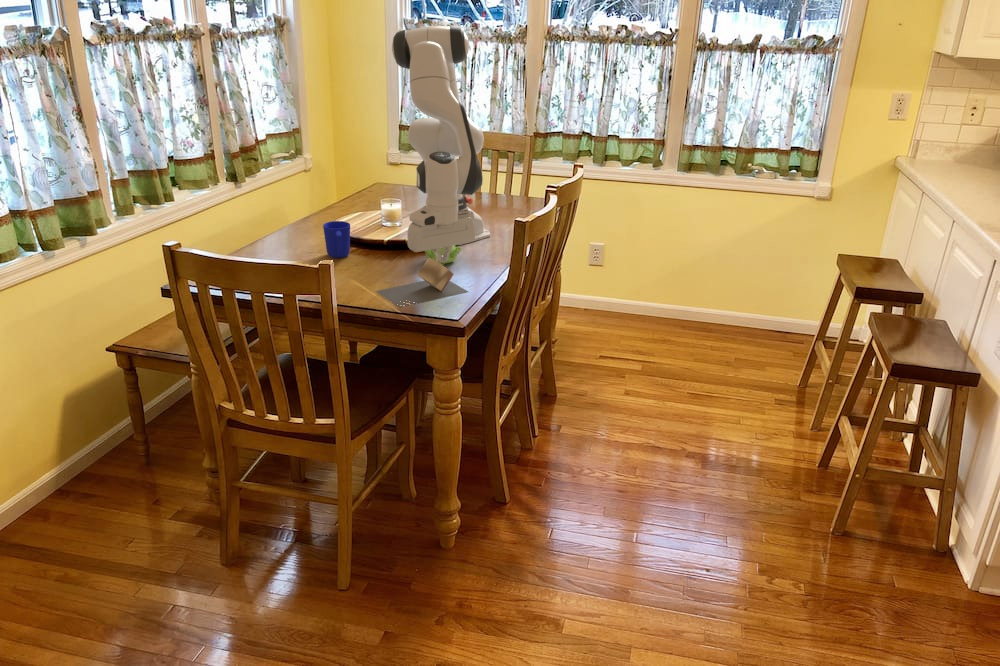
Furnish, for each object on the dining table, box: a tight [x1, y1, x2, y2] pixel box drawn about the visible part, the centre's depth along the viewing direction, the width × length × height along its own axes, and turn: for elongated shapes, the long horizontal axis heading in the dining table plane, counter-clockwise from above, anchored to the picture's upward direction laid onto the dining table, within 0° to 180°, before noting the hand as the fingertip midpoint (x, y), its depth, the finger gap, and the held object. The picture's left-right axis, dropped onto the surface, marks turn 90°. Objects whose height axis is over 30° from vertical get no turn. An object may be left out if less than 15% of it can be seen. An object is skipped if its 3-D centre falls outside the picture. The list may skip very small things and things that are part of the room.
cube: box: [416, 258, 455, 291], centre depth 225 cm, size 6×6×6 cm
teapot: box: [424, 245, 462, 266], centre depth 246 cm, size 11×12×8 cm
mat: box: [375, 280, 469, 309], centre depth 224 cm, size 22×14×1 cm, turn 125°
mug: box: [322, 220, 351, 259], centre depth 247 cm, size 8×12×10 cm
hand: (442, 261), depth 224 cm, fingers closed
